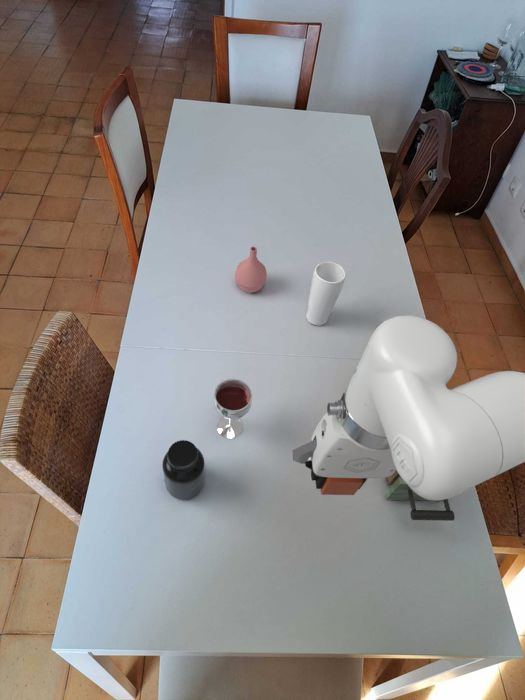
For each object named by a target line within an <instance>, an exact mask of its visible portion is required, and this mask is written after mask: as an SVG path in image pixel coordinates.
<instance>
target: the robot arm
mask: <svg viewBox="0 0 525 700" xmlns="http://www.w3.org/2000/svg"><path fill="white" fill-rule="evenodd" d="M457 365H458V353H457V348H456V346H455V344H454V342H453V340H452V338H451V337H450V335H449V334H448V333H447V332H446V331H445V330H444V329H443V328H442V327H441V326H439V325H437V323H434V322H433V321H431V320H429V319H426V318H424V317H421V316H416V315H410V314H409V315H408V314H403V315H396V316H393V317H390V318H388V319H386V320H385V321H382V323H380V324H379V325H378V326H377V327H376V328H375V330H374V331H373V333H372V334H371V336H370V338H369V340H368V343H367V345H366V347H365V350H364V351H363V354H362V356H361V357H360V360H359V362H358V364H357V366H356V369H355V370H354V372H353V375H352V377H351V379H350V381H349V382H348V383H349V384H348V385H347V388H346V390H345V392H343V393H342V395H341V397H340V399H339V400H337V401H334V402H328V403H327V407H326V412H325V414H323V416H322V417H321V419H320V420H319V422H318V424H317V426H316V427H315V429H314V431H313V434H312V435H311V439H310V441H309V442H307V443H304V444H303V445H300V446H298V447H296V448H294V449H292V452H291V453H292V461H294V462H296V463H298V464H302V465H304V466H305V468H307V469H309V470H310V477H311V481H315V488H316V490H321V488H322V486H323V484H324V483H325V481H326V479H327V477H332V478H362V480H363V483H362V485H361V486H360V488H359V489H358V490H360V489H361V488H362V487H363V485H364V484H365V483H366V482H367V480H368V479H384V478H385V479H386V477H389V476H391V475H392V474H393V473H394V472H395V471H396V470H397V471H398V473H399V475H400V476H401V478H402V479H403V480H404V481H405V482H406V483H407V484H408V486H409V487H410V488H411V489H412V490H413V491H414V492H415V493H416V494H418V495H419V496H421V497H423V498H425V499H428V500H427V501H434V502H435V501H436V502H437V501H443V500H445V499H448V500H449V499H450V498H453V497H456V496H457V495H460V494H462V493H464V492H466V491H468V490H470V489H471V488H474V487H477V486H479V485H480V484H482V483H484V482H487V481H488V480H491V479H492V478H495V477H497V476H499V475H501V474H503V473H504V472H507V471H509V470H511V469H513V468H515V467H517V466H519V465H521V464H523V463H525V372H522V371H516V370H504V371H496V372H493V373H490V374H487V375H484V376H480V377H477V378H476V379H473V380H471V381H467V382H465V383H463V384H461V385H457V386H456V387H453V388H450V389H449V388H448V387H447V384H448V383H449V381H450V380H451V379H452V377H453V375H454V374H455V371H456V368H457ZM358 490H357V491H358Z"/></svg>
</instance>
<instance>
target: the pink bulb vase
mask: <svg viewBox="0 0 525 700" xmlns="http://www.w3.org/2000/svg"><path fill="white" fill-rule="evenodd" d="M257 254H258V248H257V247H256V246H251V247H250V250H249V255H248V257H247V258H246V259H244V260H242V261H241V262H239V263H238V264H237V266H236V268H235V269H236V270H235V271H234V279H235V282H236V284H237V287H238V288H239V289H240V290H241V291H243V292H246V293H256V292H259V291H261V290H262V288H263V287H264V285H265V283H266V282H267V279H268V274H267V268H266V266H265V265H264V264H263V262H261V261H260V260H259V258H258V256H257Z"/></svg>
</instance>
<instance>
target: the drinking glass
mask: <svg viewBox="0 0 525 700" xmlns="http://www.w3.org/2000/svg"><path fill="white" fill-rule="evenodd" d="M346 276H347V275H346V270H345V269H344V267H343V266H341V265H340V264H338V263H337V262H333V261H322V262H320V263H318V264H317V265H316V266H315V268H314V270H313V274H312V278H311V282H310V287H309V295H308V302H307V309H306V313H305V317H306V320H307V321H308V323H309V324H311V325H313V326H317V327H318V326H323V325H325V324H327V323H328V321H329V318H330V315H331V314H332V313H331V312H332V311H333V308H334V307H335V305H336V302H337V300H338V299H339V296H340V294H341V291H342V289H343V286H344V282H345V280H346Z"/></svg>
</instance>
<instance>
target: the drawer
mask: <svg viewBox="0 0 525 700" xmlns="http://www.w3.org/2000/svg"><path fill="white" fill-rule="evenodd" d="M385 479H386V483H387V485H386V486H390V487H388V489H387V490H386V491H385V492H384V495H385V496H384V497H385V500H395V501H396V500H397V501H398V500H399V501H409V504H410V508H411V510H410V512H409V513H410V514H409V515H410V520H412V521H446V522H447V521H449V522H450V521H451V522H452V521H455V518H456V517H455V511H453V510H451V507H450V503H449V498H448V499H445V500H442V501H443V505H444V509H445V510H443V509H440V510H438V509H417V507H416V502H415V501H429V500H428V499H425V498H423V497H421V496H419V495H418V494H416V493H415V492H414V491H413V490H412V489H411V488H410V487H409V486H408V484H407V483H406V482H405V481H404V480H403V479H402V478H401V476H400V475H399V473H398V471H397V470H396V471H395V472H394V473H393V474H392V475H391V476H389V477H385Z"/></svg>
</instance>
